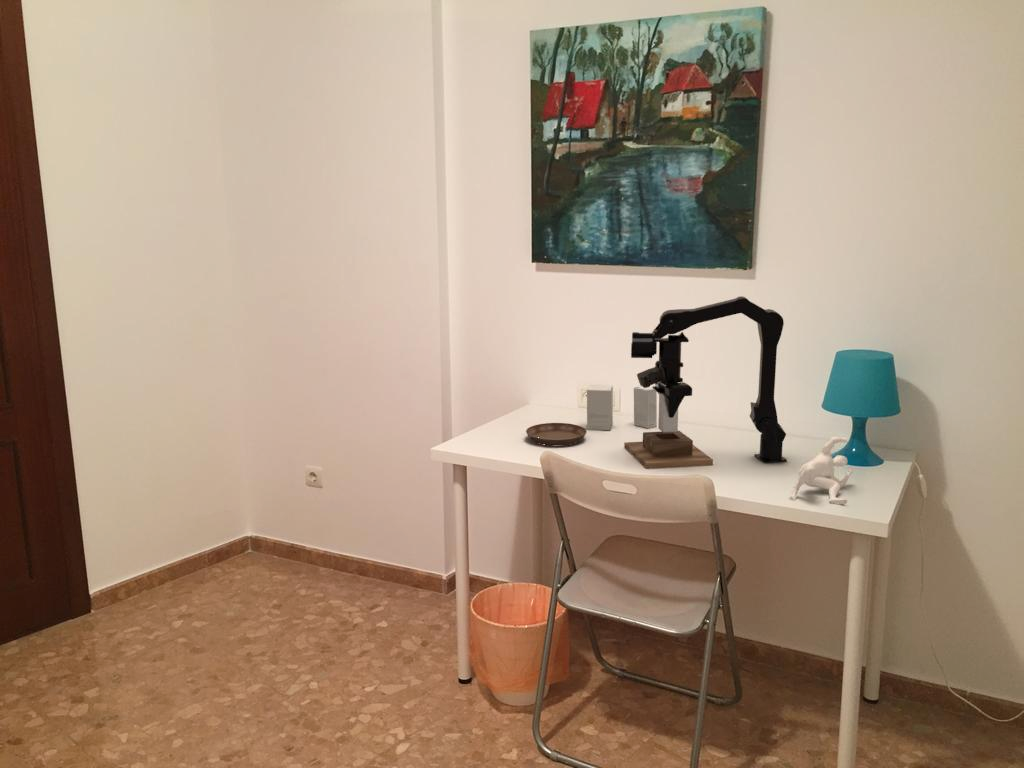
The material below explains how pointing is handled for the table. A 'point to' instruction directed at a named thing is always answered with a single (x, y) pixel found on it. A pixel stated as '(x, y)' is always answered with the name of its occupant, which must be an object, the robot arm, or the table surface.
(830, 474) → the person figurine
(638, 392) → the skincare box
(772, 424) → the robot arm
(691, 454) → the socket block
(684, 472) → the table surface
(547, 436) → the plant saucer
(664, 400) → the steel peg
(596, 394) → the supplement box
